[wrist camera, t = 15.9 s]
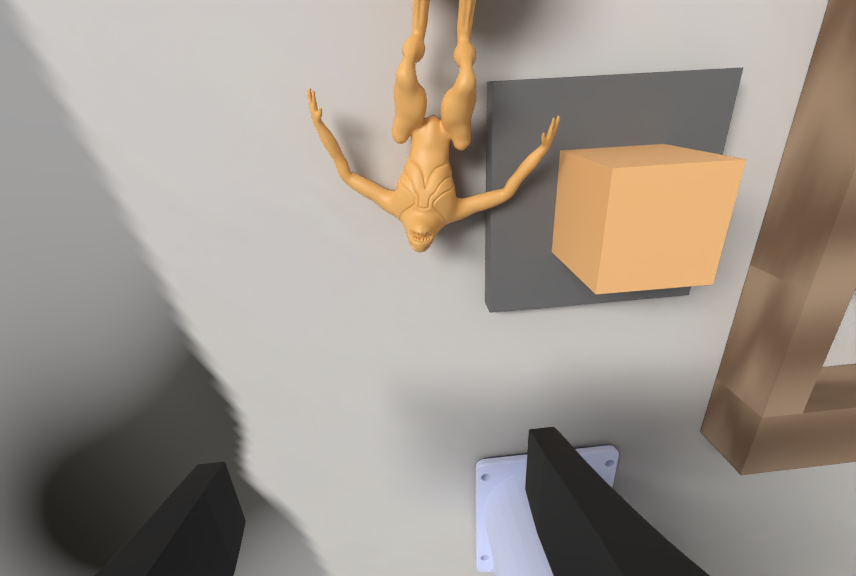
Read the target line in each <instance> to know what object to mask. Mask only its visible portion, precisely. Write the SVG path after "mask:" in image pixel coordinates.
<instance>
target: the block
mask: <svg viewBox="0 0 856 576" xmlns="http://www.w3.org/2000/svg"><path fill="white" fill-rule="evenodd" d="M745 162H746V159H742V158H736V157H731V156H726V155H720V154H715V153H710V152H704V151H699V150H694V149H688V148H683V147H678V146H672V145H667V144H655V145H639V146H623V147H607V148H592V149H576V150H560V159H559V171H558V183H557V195H556V207H555V219H554V231H553V243H552V253H553V254H554V255H555V256H556V257H557V258H558V259H559V260H561V261H562V262H563V263H564V264H565V265H566V266H567V267H568V268H569V269H570V270H571V271H572V272H573V273H574V274H575V275H576V276H577V277H578V278H579V279H580V280H581V281H582V282H583V283H584V284H585V285H586V286H587V287H588V288H590V289H591V290H592V291H593V292H594V293H595V294H606V293H618V292H630V291H642V290H653V289H665V288H677V287H689V286H700V285H712V284H713V283H714V279H715V275H716V271H717V268H718V264H719V260H720V256H721V253H722V249H723V245H724V241H725V238H726V234H727V230H728V226H729V223H730V219H731V215H732V211H733V208H734V204H735V200H736V196H737V192H738V189H739V185H740V181H741V177H742V174H743V170H744V166H745Z"/></svg>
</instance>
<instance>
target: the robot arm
mask: <svg viewBox="0 0 856 576" xmlns="http://www.w3.org/2000/svg"><path fill="white" fill-rule="evenodd" d="M618 458H619V452H618V451H617V449H616V448H615V447H614V446H612V445H607V446H598V447H589V448H579V449H574V448H573V447H572V445H571V444H570V443H569V442H568V441H567V440H566V439H565V438H564V437H563V436H562V434H561V433H560V432H559V431H558V430H557V429H556V428H554V427H547V428H538V429H529V437H528V452H527V454H525V455H516V456H507V457H498V458H488V459H482V460H480V461H478V463H477V464H476V567H477V570H478V571H480V572H490V571H494V576H710V575H708V574H707V573H706V572H705V571H703V570H702V569H701V568H700V567H699V566H697V565H696V564H695V563H694V562H692V561H691V560H690V559H689V558H688V557H687V556H685V555H684V554H683V553H682V552H681V551H679V550H678V549H677V548H676V547H675V546H674V545H673V544H671V543H670V542H669V541H668V540H667V539H666V538H665V537H664V536H662V535H661V534H660V533H659V532H658V531H657V530H656V529H655V528H654V527H652V526H651V525H650V524H649V523H648V522H647V521H646V520H645V519H644V518H643V517H642V516H641V515H639V514H638V513H637V512H636V511H635V510H634V509H633V508H632V507H631V506H630V505H629V504H628V503H627V502H626V501H625V500H624V499H623V498H622V497H621V496H620V495H619V494H618V493H617V492H616V491H615V490H614V489H613V483H614V478H615V473H616V468H617V463H618ZM484 474H485V475H484ZM244 526H245V518H244V515H243V512H242V509H241V506H240V504H239V501H238V498H237V495H236V492H235V489H234V487H233V484H232V481H231V478H230V475H229V473H228V470H227V467H226V464H225V462H218V463H209V464H199V465H197V466H196V467H195V468H194V469H193V471H192V472H191V473H190V474H189V475H188V476H187V477H186V478H185V479H184V480H183V481H182V482H181V484H180V485H179V486H178V487H177V488H176V489H175V490H174V491H173V493H172V494H171V495H170V496H169V497H168V498H167V499H166V500H165V501H164V502H163V503H162V505H161V506H160V507H159V508H158V509H157V510H156V511H155V512H154V513H153V514H152V516H151V517H150V518H149V519H148V520H147V521H146V522H145V523H144V524H143V525H142V527H141V528H140V529H139V530H138V531H137V532H136V533H135V534H134V535H133V536H132V537H131V539H129V541H128V542H127V543H126V544H125V545H124V546H123V547H122V548H121V549H120V550H119V552H117V553H116V555H115V556H114V557H113V558H112V559H111V560H110V561H109V562H108V563H107V564H106V565H105V566H104V567H103V568H102V569H101V570H100V571H99V572H98V573H97V574H96V575H95V576H233V575H234V572H235V568H236V563H237V559H238V555H239V551H240V546H241V541H242V536H243V531H244Z"/></svg>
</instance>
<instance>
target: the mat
mask: <svg viewBox="0 0 856 576" xmlns="http://www.w3.org/2000/svg"><path fill="white" fill-rule="evenodd" d="M742 71H743V68H727V69H708V70H690V71H672V72H653V73H635V74H617V75H598V76H580V77H562V78H544V79H525V80H507V81H491V82H487V131H486V192H489V191H493V190H498V189H503V188H504V187H505V185H506V183H507V181H508V180H509V178H510V177H511V176H512V175H513V174H514V173H515V172H516V170H517V169H518V167H519V166H520V165H521V163H522V162H523V161H524V160H525V159H526V158H527V157H528V156H529V155H530V154H531V153H532V152H533V151H535V150H536V149H537V148H538V147H539V146H540V145H541V144H542V142H541V137H542V133H543V132H544V133H545V137H546V135H547V133H548V130H549V127H550V125H551V122H552V119H553V118H555V121H556V119H557V116H559V117H560V121H559V126H558V129H557V132H556V135H555V137H554V139H553V141H552V144H551V146H550V148H549V149H548V151H547V152H546V153H545V155H544V156H543V157H542V159H541V160H540V162H539V163H538V165H537V166H536V167H535V168H534V170H533V171H532V172H531V173H530V174H529V175H528V176H527V177H526V178H525V179H524V180H523V181H522V182H521V184H520V185H519V187H518V189H517V190H516V192H515V193H514V195H513V196H512V197H511V198H510V199H508V200H507V201H505V202H503V203H501V204H499V205H497V206H494V207H491V208H489V209H486V245H485V303H486V305H487V307H488V310H489V312H502V311H513V310H524V309H536V308H547V307H558V306H569V305H581V304H592V303H603V302H615V301H626V300H637V299H649V298H660V297H671V296H682V295H689V292H690V288H691V286H689V287H677V288H665V289H653V290H642V291H630V292H618V293H606V294H595V293H594V292H593V291H592V290H591V289H590V288H588V287H587V286H586V285H585V284H584V283H583V282H582V281H581V280H580V279H579V278H578V277H577V276H576V275H575V274H574V273H573V272H572V271H571V270H570V269H569V268H568V267H567V266H566V265H565V264H564V263H563V262H562V261H561V260H559V259H558V258H557V257H556V256H555V255H554V254H553V253H552V243H553V231H554V219H555V207H556V195H557V183H558V171H559V159H560V150H576V149H592V148H607V147H623V146H639V145H655V144H667V145H672V146H678V147H683V148H688V149H694V150H699V151H704V152H710V153H715V154H720V155H722V154H723V150H724V146H725V142H726V137H727V133H728V129H729V125H730V121H731V117H732V112H733V108H734V104H735V100H736V96H737V91H738V87H739V83H740V79H741V75H742ZM554 123H555V122H554Z"/></svg>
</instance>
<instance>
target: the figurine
mask: <svg viewBox="0 0 856 576" xmlns="http://www.w3.org/2000/svg"><path fill="white" fill-rule="evenodd" d="M429 1H430V0H413V24H412V36H411V37H409V38H408V39H407V40H406V41H405V43H404V45H403V49H402V53H403V59H402V62H401V64H400V65H399V67H398V69H397V73H396V80H395V85H394V101H395V118H394V123H393V127H392V136H393V139H394V140H395V141H396V142H397V143H399V144H402V143H405V142H406V141H407V140H408V138H409V136H411V138H412V145H411V150H410V157H409V158H408V160H407V162H406V164H405V166H404V170H403V172H402V174H401V176H400V178H399V180H398V183H397V186H396V190H393V191H392V190H387V189H385V188H383V187H381V186H379V185H377V184H376V183H374V182H372V181H370V180H368V179H366V178H364V177H362V176H360V175H358V174H355V173H353V172H351V171H350V168H349V165H348V162H347V160H346V158H345V157H344V155H343V153H342V151H341V149H340V146H339V144H338V143H337V141H336V139H335V138H334V136H333V134H332V133H331V132H330V130H329V129H328V128H327V127H326V126H325V124H324V123H323V122H322V120H321V117H322V108H321V107H320V108H319V112H318V109H317V102H316V98H315V92H314V91H313V92H312V93H311V88H309V89H308V101H309V108H310V112H311V117H312V121H313V123H314V126H315V128H316V130H317V132H318V134H319V136H320V139H321V141H322V143H323V145H324V146H325V148H326V149H327V151H328V152H329V154H330V156H331V157H332V159H333V160H334V162H335V165H336V168H337V170H338V173H339V175H340V177H341V178H342V180H343V181H344V182H345V183H346V184H347V185H348V186H350V187H351V188H352V189H354V190H355V191H357V192H358V193H360V194H361V195H363V196H365V197H367V198H369V199H371V200H372V201H374V202H375V203H376V204H378V205H379V206H380V207H381V208H382V209H383V210H385V211H386V212H388V213H390V214H392V215H394V216H395V217H397V218H398V219H399V220H400V221H401V223H402V224H403V225H404V227H405V230H406V233H407V237H408V240H409V243H410V245H411V247H412V249H413V250H415V251H416V252H424V251H426V250H427V249H428V248H429V247H430V245H431V244H432V242H433V240H434V239H435V237H436V235H437V234H438V232H439V231H440V230H441V229H442V228H443V227H444V226H446V225H447V224H449V223H451V222H455V221H458V220H461V219H464V218H466V217H468V216H470V215H471V214H473V213H476V212H479V211H482V210H486V209H489V208H491V207H494V206H497V205H499V204H501V203H503V202H505V201H507V200H508V199H510V198H511V197H512V196H513V195H514V193H515V192H516V190H517V189H518V187H519V185H520V184H521V182H522V181H523V180H524V179H525V178H526V177H527V176H528V175H529V174H530V173H531V172H532V171H533V170H534V168H535V167H536V166H537V165H538V163H539V162H540V160H541V159H542V157H543V156H544V155H545V153H546V152H547V151H548V149H549V148H550V146H551V144H552V141H553V139H554V137H555V135H556V132H557V129H558V126H559V121H560V117H559V116H557V119H556V121H555V118H553V119H552V122H551V125H550V127H549V130H548V133H547V135H546V137H545V133H544V132H543V133H542V137H541V142H542V144H541V145H540V146H539V147H538V148H537V149H536V150H535V151H533V152H532V153H531V154H530V155H529V156H528V157H527V158H526V159H525V160H524V161H523V162H522V163H521V165H520V166H519V167H518V169H517V170H516V172H515V173H514V174H513V175H512V176H511V177H510V178H509V180H508V181H507V183H506V185H505V187H504V188H503V189H498V190H493V191H489V192H485V193H482V194H478V195H474V196H471V197H467V198H458V197H456V193H455V185H454V182H453V178H452V175H451V174H452V170H451V166H450V162H449V161H448V160H449V145H450V142H451V140H452V141H453V144H454V146H455V148H456V149H458V150H464V149H466V148H467V147H468V146H469V144H470V142H471V116H472V113H473V110H474V106H475V102H476V78H475V74H474V71H473V64H474V62H475V59H476V51H475V49H474V47H473V45H472V44H471V43H470V37H471V31H472V25H473V19H474V12H475V5H476V0H459V12H458V23H457V42H458V44H457V47H456V48H455V50H454V60H455V63H456V64H457V66H458V67H459V68H460V69H459V74H458V77H457V79H456V82H455V84H454V86H453V87H452V88H451V89H449V90H448V91H447V92H446V93H445V95H444V98H443V100H442V104H441V120H440V119H439V118H437V117H436V116H434V115H431V116H429V117H427V118H424V116H425V113H426V107H427V99H426V93H425V90H424V88H423V87H422V86H421V85H420V84H419V83H418V80H417V77H416V71H415V63H417V62H419V61H420V60H421V59H422V57H423V56H424V52H425V45H424V37H425V32H426V27H427V21H428V9H429ZM554 122H555V123H554Z"/></svg>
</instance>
